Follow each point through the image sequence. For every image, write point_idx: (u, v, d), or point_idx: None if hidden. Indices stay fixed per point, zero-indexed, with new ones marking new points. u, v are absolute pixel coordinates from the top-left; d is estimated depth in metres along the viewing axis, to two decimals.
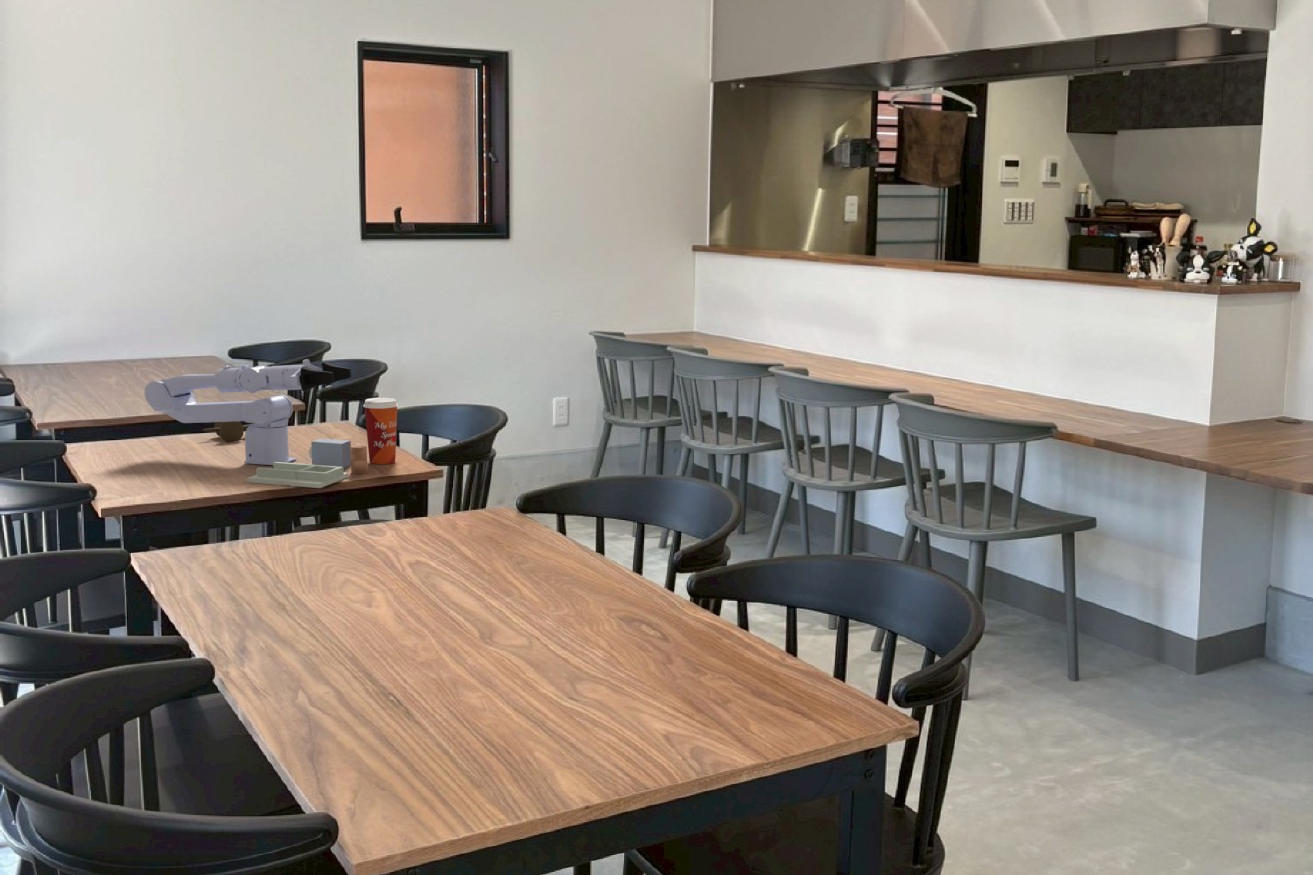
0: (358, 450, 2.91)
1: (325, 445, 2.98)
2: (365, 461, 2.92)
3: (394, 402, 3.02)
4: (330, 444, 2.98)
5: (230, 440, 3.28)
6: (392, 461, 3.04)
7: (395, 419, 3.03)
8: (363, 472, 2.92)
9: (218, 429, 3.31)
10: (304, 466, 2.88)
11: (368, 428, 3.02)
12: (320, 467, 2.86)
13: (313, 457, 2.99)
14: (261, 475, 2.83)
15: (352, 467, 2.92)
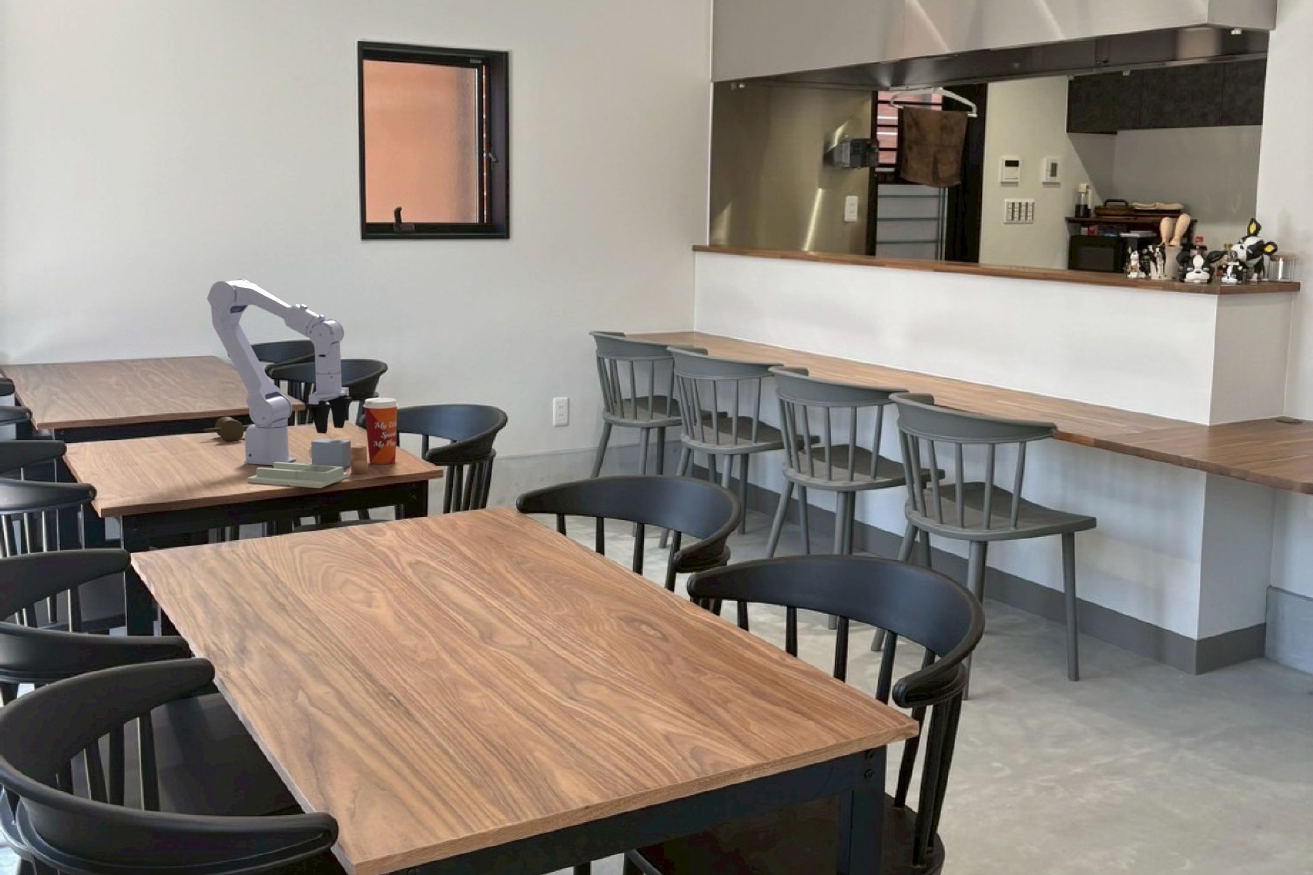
0: (358, 450, 2.91)
1: (325, 445, 2.98)
2: (365, 461, 2.92)
3: (394, 402, 3.02)
4: (330, 444, 2.98)
5: (230, 440, 3.28)
6: (392, 461, 3.04)
7: (395, 419, 3.03)
8: (363, 472, 2.92)
9: (219, 429, 3.31)
10: (304, 466, 2.88)
11: (368, 428, 3.02)
12: (320, 467, 2.86)
13: (313, 457, 2.99)
14: (261, 475, 2.83)
15: (352, 467, 2.92)
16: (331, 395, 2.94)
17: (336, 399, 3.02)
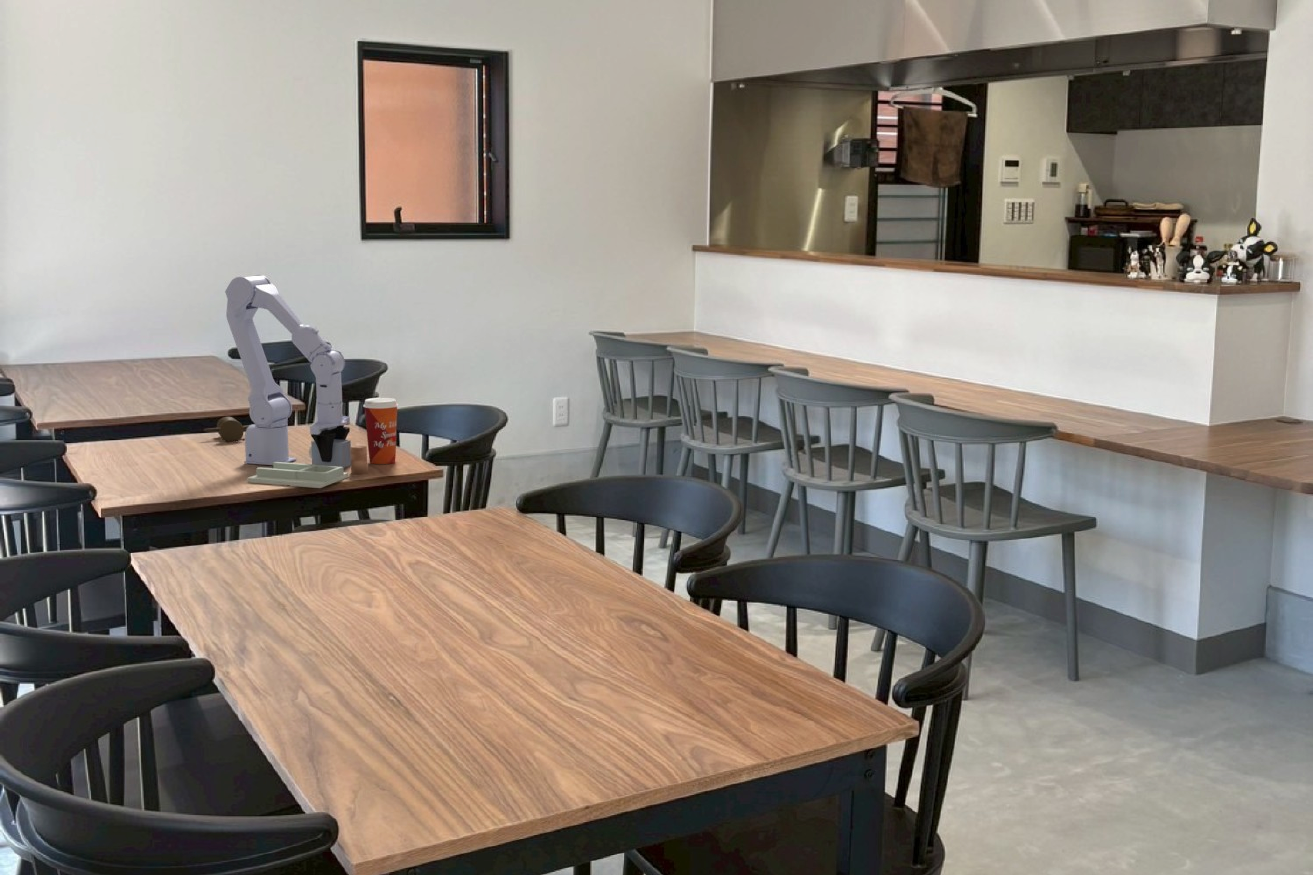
0: (358, 450, 2.91)
1: None
2: (365, 461, 2.92)
3: (394, 402, 3.02)
4: None
5: (230, 440, 3.28)
6: (392, 461, 3.04)
7: (395, 419, 3.03)
8: (363, 472, 2.92)
9: (219, 429, 3.31)
10: (304, 466, 2.88)
11: (368, 428, 3.02)
12: (320, 467, 2.86)
13: (313, 457, 2.99)
14: (261, 475, 2.83)
15: (352, 467, 2.92)
16: (332, 425, 2.96)
17: (334, 429, 3.01)
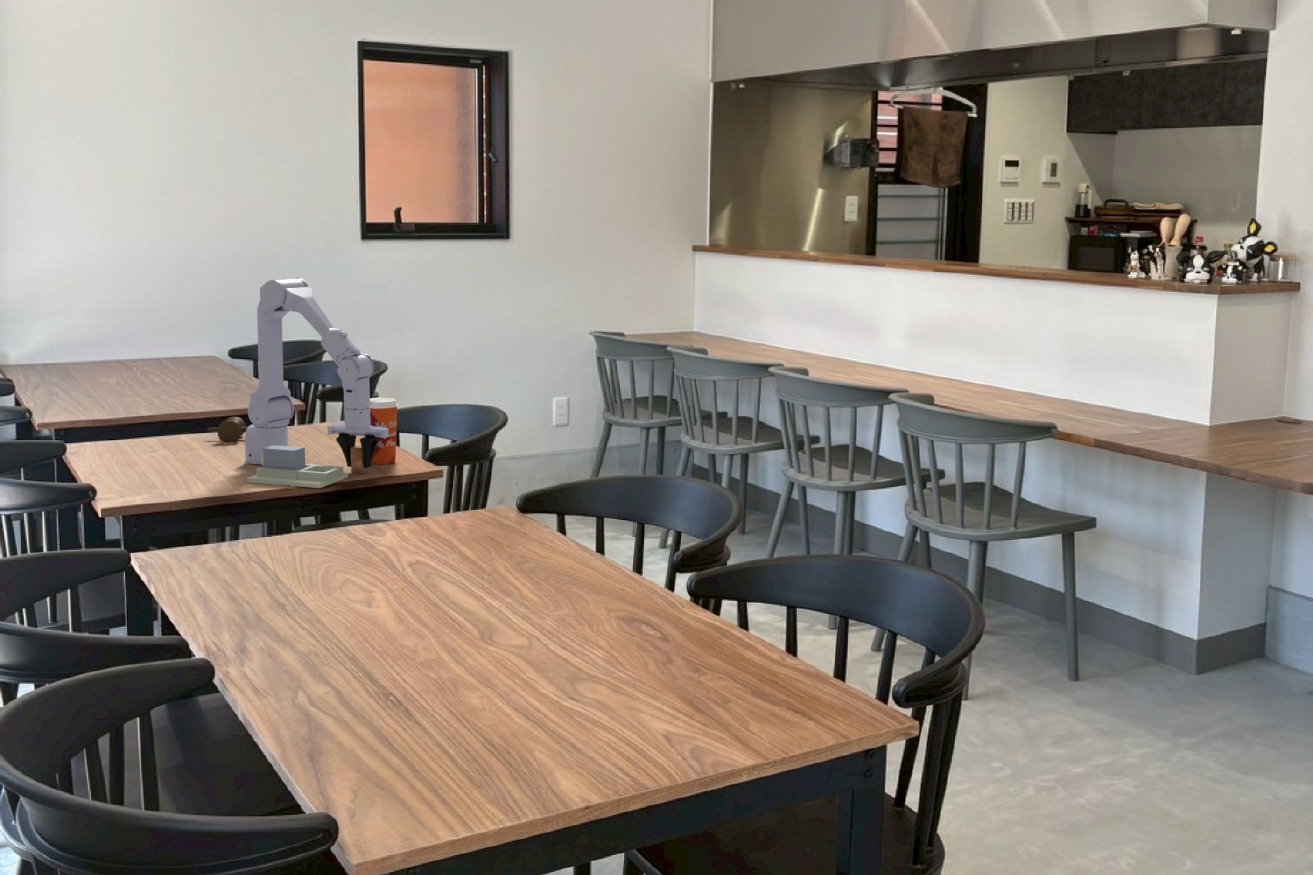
0: (358, 450, 2.91)
1: (278, 452, 2.83)
2: None
3: (394, 402, 3.02)
4: (283, 451, 2.83)
5: (227, 441, 3.28)
6: (392, 461, 3.04)
7: (395, 419, 3.03)
8: (363, 472, 2.92)
9: None
10: None
11: None
12: (320, 467, 2.86)
13: (265, 465, 2.85)
14: (261, 475, 2.83)
15: (352, 467, 2.92)
16: (342, 429, 2.90)
17: None
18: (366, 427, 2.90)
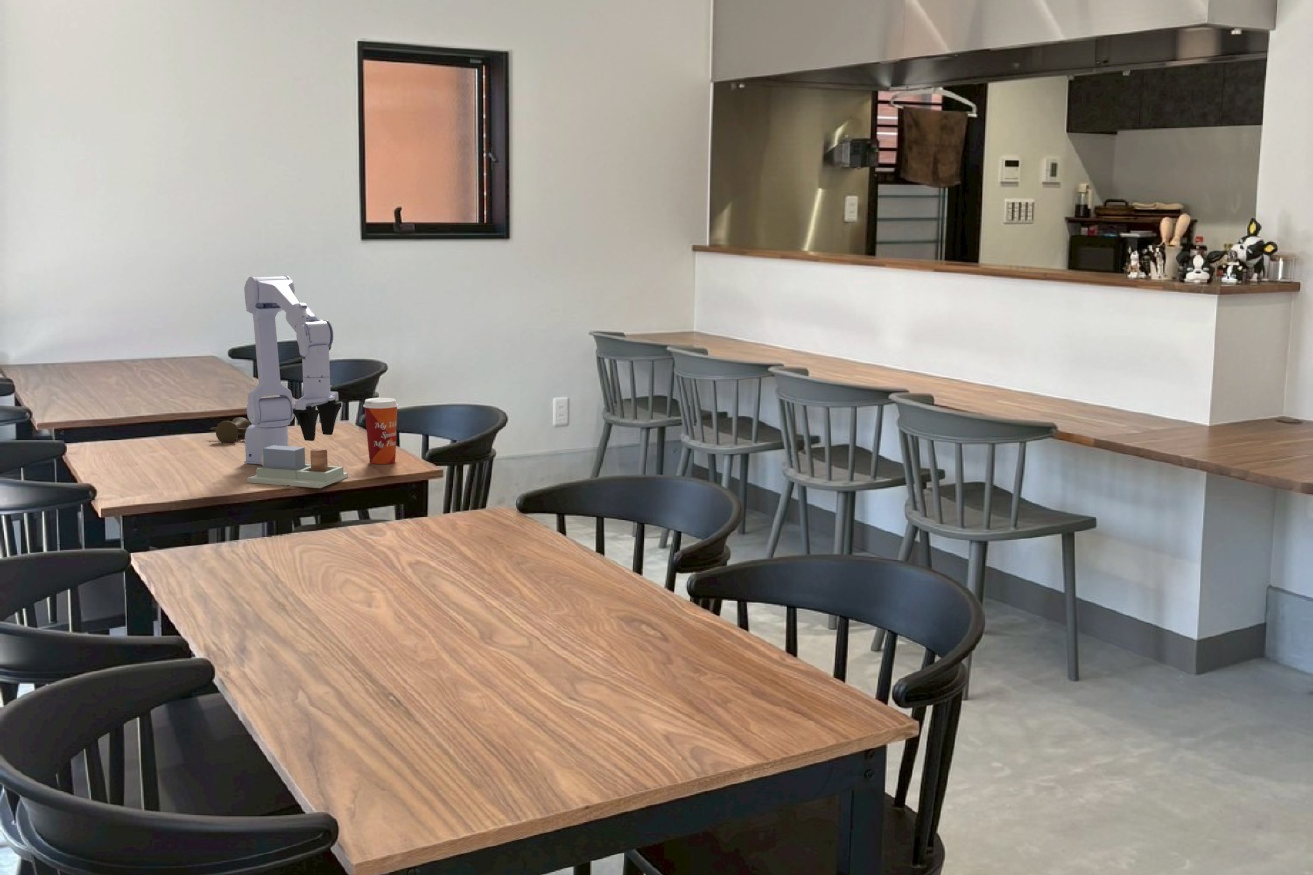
0: None
1: (278, 452, 2.83)
2: None
3: (394, 402, 3.02)
4: (283, 451, 2.83)
5: (224, 441, 3.27)
6: (392, 461, 3.04)
7: (395, 419, 3.03)
8: None
9: None
10: None
11: (368, 428, 3.02)
12: None
13: (265, 465, 2.85)
14: (261, 475, 2.83)
15: (323, 471, 2.82)
16: (319, 400, 2.77)
17: (325, 404, 2.84)
18: None
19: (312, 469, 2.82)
